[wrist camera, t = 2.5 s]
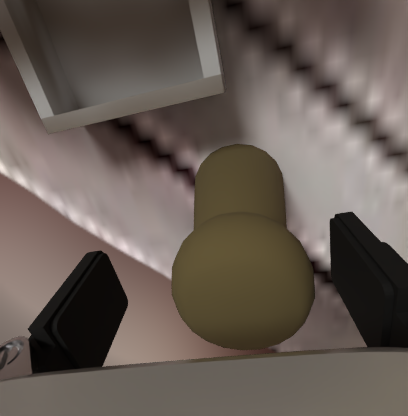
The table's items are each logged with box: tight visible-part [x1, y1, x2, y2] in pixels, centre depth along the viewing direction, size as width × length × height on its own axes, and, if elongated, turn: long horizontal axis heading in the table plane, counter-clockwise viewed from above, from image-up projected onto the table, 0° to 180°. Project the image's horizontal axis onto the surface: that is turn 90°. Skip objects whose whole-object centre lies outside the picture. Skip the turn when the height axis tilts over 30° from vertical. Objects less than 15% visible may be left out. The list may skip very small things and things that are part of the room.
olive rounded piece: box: [172, 144, 315, 350], centre depth 13 cm, size 6×6×11 cm
